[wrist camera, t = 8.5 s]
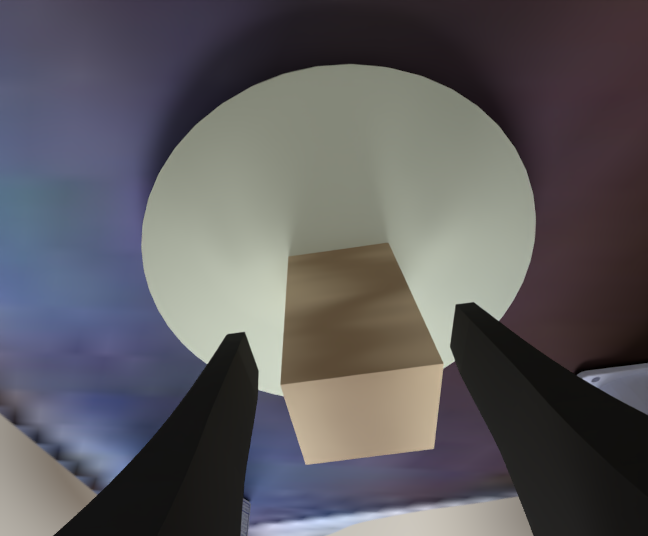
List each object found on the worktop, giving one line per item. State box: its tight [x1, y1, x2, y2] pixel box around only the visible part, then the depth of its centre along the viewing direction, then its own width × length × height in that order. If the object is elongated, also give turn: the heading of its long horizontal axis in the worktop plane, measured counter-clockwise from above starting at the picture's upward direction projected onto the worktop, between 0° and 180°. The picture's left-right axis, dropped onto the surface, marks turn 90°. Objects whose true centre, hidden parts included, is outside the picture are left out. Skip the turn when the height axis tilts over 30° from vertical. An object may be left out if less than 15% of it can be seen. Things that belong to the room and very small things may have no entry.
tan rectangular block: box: [280, 243, 444, 465], centre depth 12 cm, size 4×4×6 cm
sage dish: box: [141, 64, 536, 396], centre depth 15 cm, size 16×16×2 cm
